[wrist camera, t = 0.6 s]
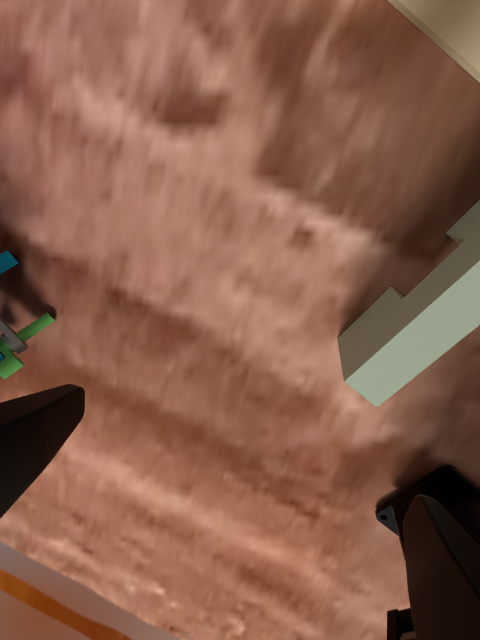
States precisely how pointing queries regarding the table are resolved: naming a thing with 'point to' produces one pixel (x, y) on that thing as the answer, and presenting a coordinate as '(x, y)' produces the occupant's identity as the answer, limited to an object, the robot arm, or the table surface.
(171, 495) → the table surface
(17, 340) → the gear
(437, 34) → the maple jig
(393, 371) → the sage board
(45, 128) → the table surface
